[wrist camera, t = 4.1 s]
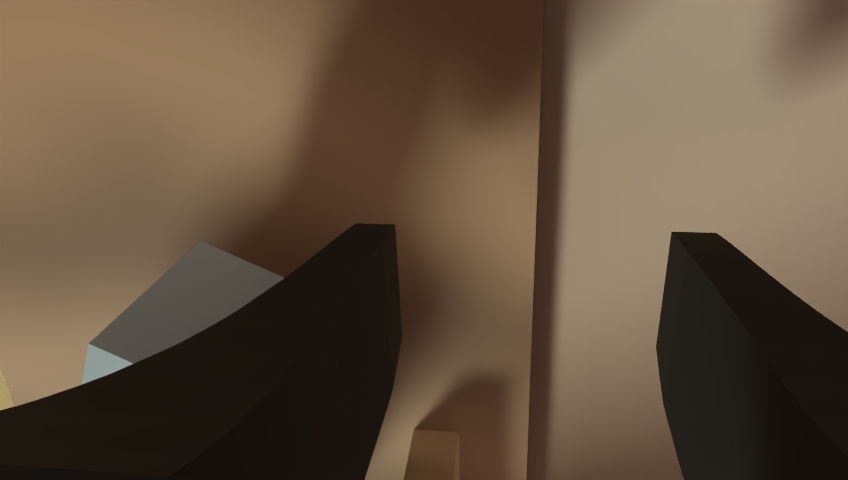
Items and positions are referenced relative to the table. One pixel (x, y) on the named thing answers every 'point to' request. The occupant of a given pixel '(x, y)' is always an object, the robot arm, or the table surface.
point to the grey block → (177, 308)
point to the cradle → (283, 184)
